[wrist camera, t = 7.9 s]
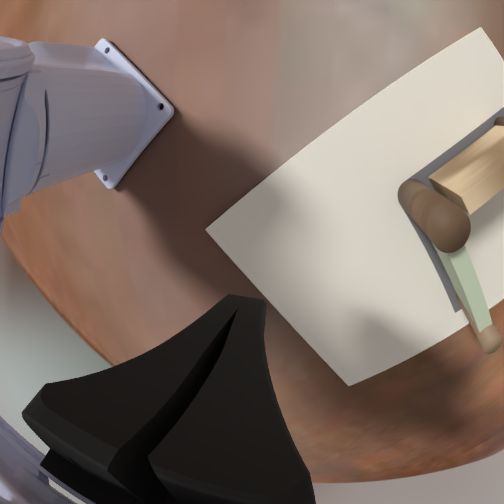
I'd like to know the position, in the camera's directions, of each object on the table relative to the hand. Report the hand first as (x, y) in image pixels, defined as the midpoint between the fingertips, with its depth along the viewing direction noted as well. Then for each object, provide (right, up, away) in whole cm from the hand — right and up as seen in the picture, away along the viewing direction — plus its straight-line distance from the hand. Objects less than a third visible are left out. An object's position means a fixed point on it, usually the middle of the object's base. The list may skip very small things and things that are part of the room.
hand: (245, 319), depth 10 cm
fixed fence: (+13, +8, +3) cm, 15 cm away
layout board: (+12, +4, +6) cm, 14 cm away
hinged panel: (+13, +2, +6) cm, 14 cm away
